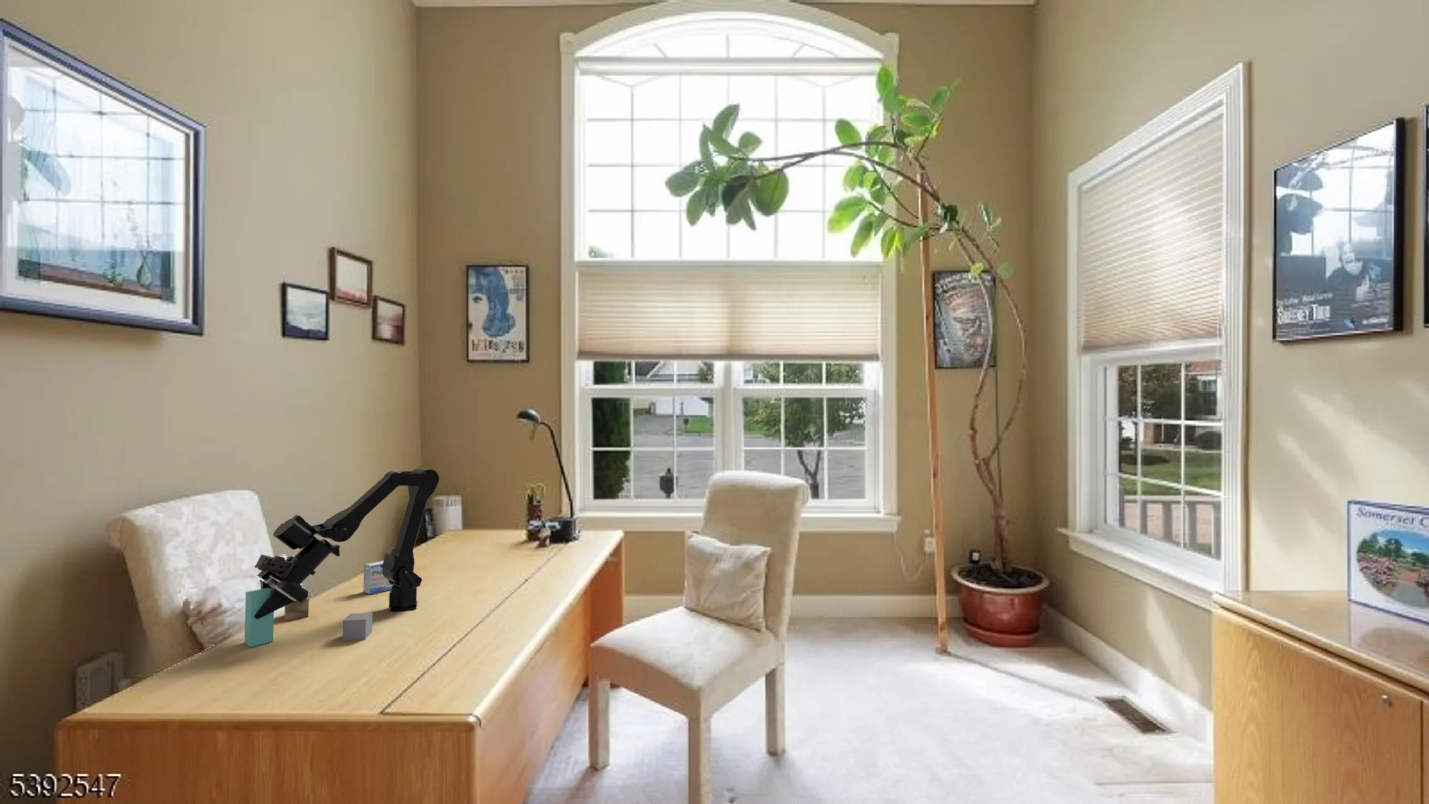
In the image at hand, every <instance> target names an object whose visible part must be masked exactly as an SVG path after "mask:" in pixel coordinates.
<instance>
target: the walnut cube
mask: <svg viewBox="0 0 1429 804" xmlns="http://www.w3.org/2000/svg"><path fill="white" fill-rule="evenodd" d="M293 601H295V602H294V603H291V604H289V605H286V606H284V620H285V621H292V620H291V619H293V620H298V619H304V618H309V611H310V610H309V609H310V608H309V607H310V598H309V597H308V598H307V599H306V600H305V601H304V602H303V603H300V602H298V601H297V600H296V599H293Z"/></svg>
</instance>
